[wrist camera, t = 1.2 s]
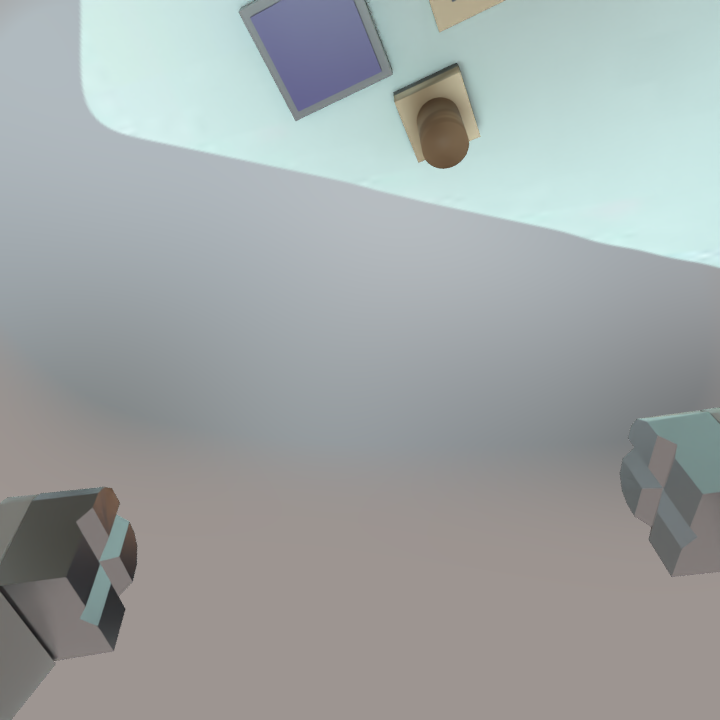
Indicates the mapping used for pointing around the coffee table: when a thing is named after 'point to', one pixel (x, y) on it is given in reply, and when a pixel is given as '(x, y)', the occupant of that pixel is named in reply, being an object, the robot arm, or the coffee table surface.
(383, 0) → the coffee table surface
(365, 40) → the ink pad
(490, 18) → the coffee table surface
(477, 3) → the card sheet
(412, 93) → the stamp
